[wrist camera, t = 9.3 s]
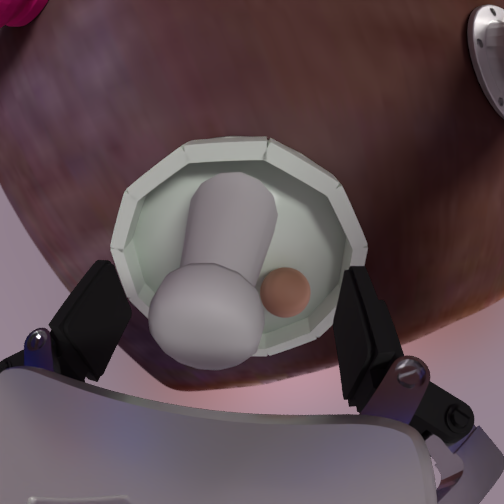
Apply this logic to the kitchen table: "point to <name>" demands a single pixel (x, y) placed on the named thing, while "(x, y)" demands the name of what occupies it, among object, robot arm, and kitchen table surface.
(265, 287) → the bead terracotta
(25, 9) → the pepper mill
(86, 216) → the kitchen table surface
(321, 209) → the tray
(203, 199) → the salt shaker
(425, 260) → the kitchen table surface
